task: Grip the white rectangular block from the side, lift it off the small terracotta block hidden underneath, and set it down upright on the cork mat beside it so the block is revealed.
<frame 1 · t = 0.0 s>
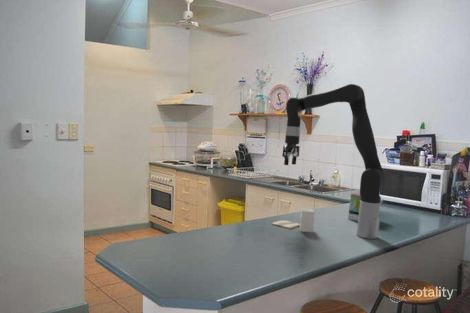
hand: (290, 164, 219), 29 cm above the worktop, tool pointing down, fingers open, 8 cm apart
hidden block: (306, 227, 198), in the white rectangular block
tea box: (360, 219, 233), on the worktop
cork mat: (286, 224, 206), on the worktop
white rectangular block: (305, 230, 198), on the worktop
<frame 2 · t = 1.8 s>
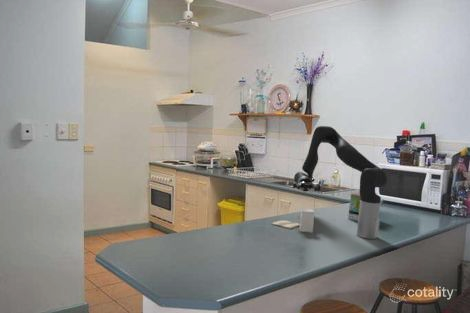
hand: (307, 188, 208), 19 cm above the worktop, tool horizontal, fingers open, 8 cm apart
nothing on the worktop moved.
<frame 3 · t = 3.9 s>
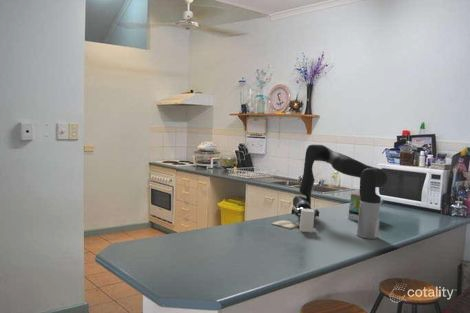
hand: (306, 214, 205), 6 cm above the worktop, tool horizontal, fingers open, 8 cm apart
nothing on the worktop moved.
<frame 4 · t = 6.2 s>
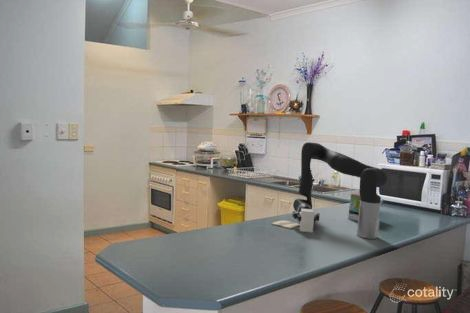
hand: (307, 219, 195), 6 cm above the worktop, tool horizontal, fingers closed on white rectangular block, 6 cm apart
white rectangular block: (305, 230, 198), on the worktop, touching gripper
everything else where it was.
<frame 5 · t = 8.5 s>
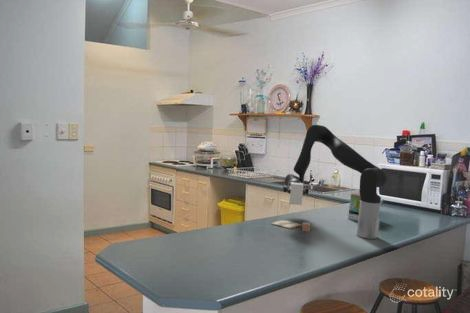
hand: (296, 192, 199), 18 cm above the worktop, tool horizontal, fingers closed on white rectangular block, 6 cm apart
white rectangular block: (295, 203, 202), point 12 cm above the worktop, touching gripper
everything else where it was.
when the fingers open (8 cm above the worktop, at t = 11.2 s): white rectangular block drops 1 cm, resting on cork mat.
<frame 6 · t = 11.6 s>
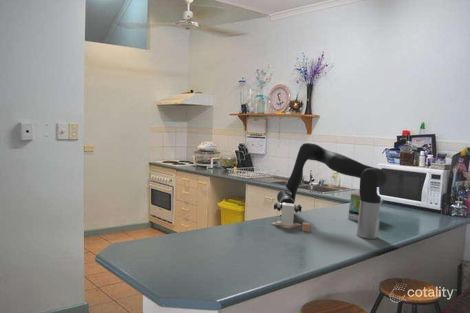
hand: (287, 210, 203), 8 cm above the worktop, tool horizontal, fingers open, 8 cm apart
white rectangular block: (286, 223, 206), point 1 cm above the worktop, touching cork mat
everything else where it was.
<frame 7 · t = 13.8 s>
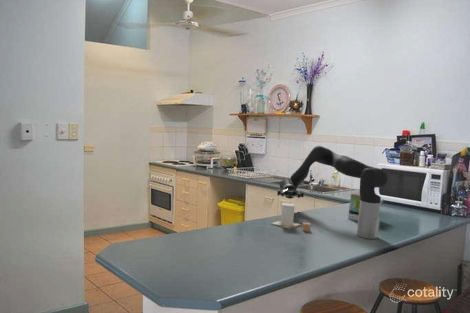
hand: (291, 195, 216), 13 cm above the worktop, tool horizontal, fingers open, 8 cm apart
nothing on the worktop moved.
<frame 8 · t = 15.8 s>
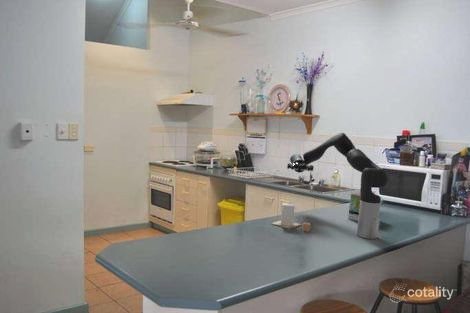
hand: (300, 168, 217), 28 cm above the worktop, tool horizontal, fingers open, 8 cm apart
nothing on the worktop moved.
at the end: white rectangular block inside the target area on the cork mat (0.1 cm from its centre), point 0.6 cm above the cork mat's base; white rectangular block tilted 0°; the gripper is holding nothing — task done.
